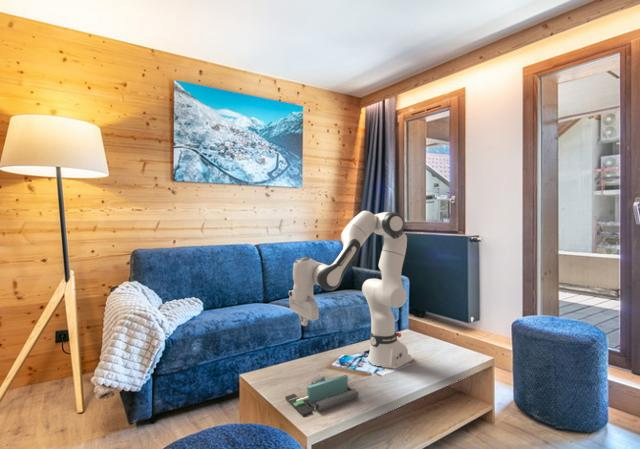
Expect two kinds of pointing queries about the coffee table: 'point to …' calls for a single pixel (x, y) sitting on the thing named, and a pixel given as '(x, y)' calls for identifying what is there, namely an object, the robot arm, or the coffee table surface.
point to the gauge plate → (326, 389)
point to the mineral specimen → (317, 379)
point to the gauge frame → (322, 402)
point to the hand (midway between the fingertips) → (304, 325)
